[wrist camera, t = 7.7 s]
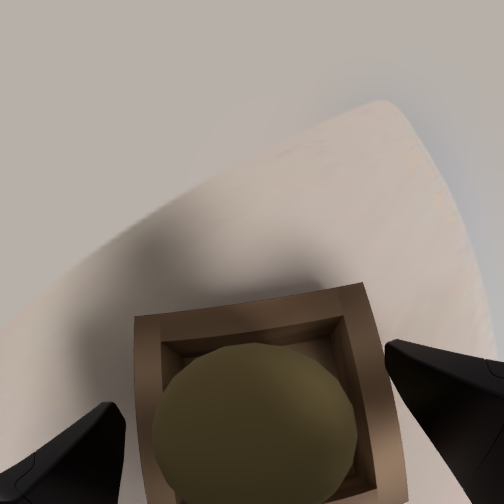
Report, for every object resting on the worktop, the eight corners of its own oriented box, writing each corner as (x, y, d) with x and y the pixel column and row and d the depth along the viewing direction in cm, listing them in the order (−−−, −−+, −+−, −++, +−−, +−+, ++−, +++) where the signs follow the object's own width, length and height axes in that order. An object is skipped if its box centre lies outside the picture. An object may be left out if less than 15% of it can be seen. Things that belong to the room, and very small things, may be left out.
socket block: (379, 484, 11) (408, 501, 7) (182, 511, 11) (154, 533, 7) (345, 312, 18) (362, 282, 14) (164, 339, 18) (134, 316, 14)
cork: (319, 373, 15) (383, 303, 6) (318, 469, 12) (383, 545, 3) (216, 372, 16) (130, 304, 7) (211, 467, 13) (113, 529, 3)
